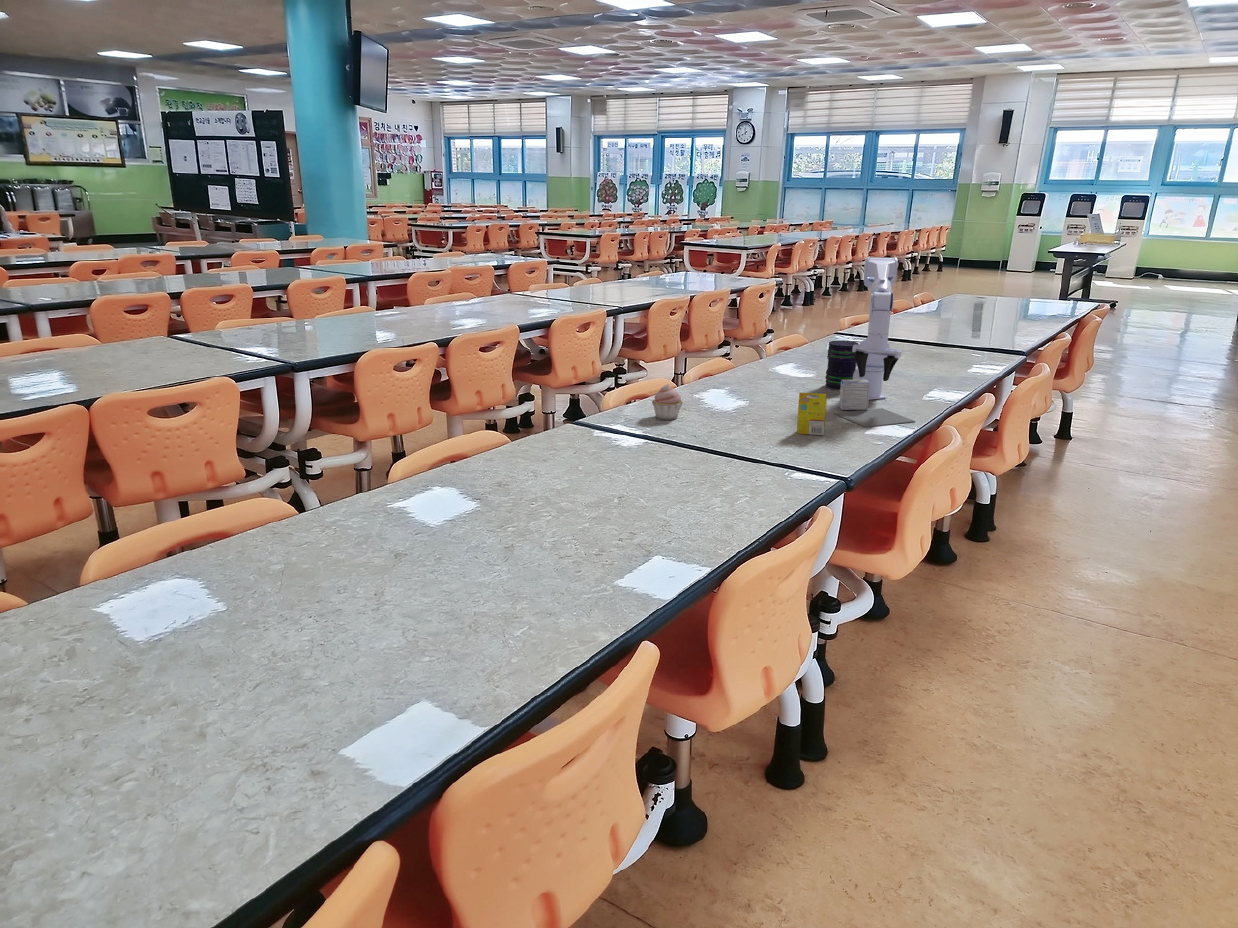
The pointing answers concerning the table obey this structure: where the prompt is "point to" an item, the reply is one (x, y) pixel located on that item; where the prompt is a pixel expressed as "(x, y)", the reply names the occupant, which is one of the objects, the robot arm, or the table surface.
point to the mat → (874, 417)
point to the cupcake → (667, 403)
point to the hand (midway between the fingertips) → (873, 378)
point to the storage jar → (840, 363)
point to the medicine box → (854, 394)
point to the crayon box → (811, 414)
